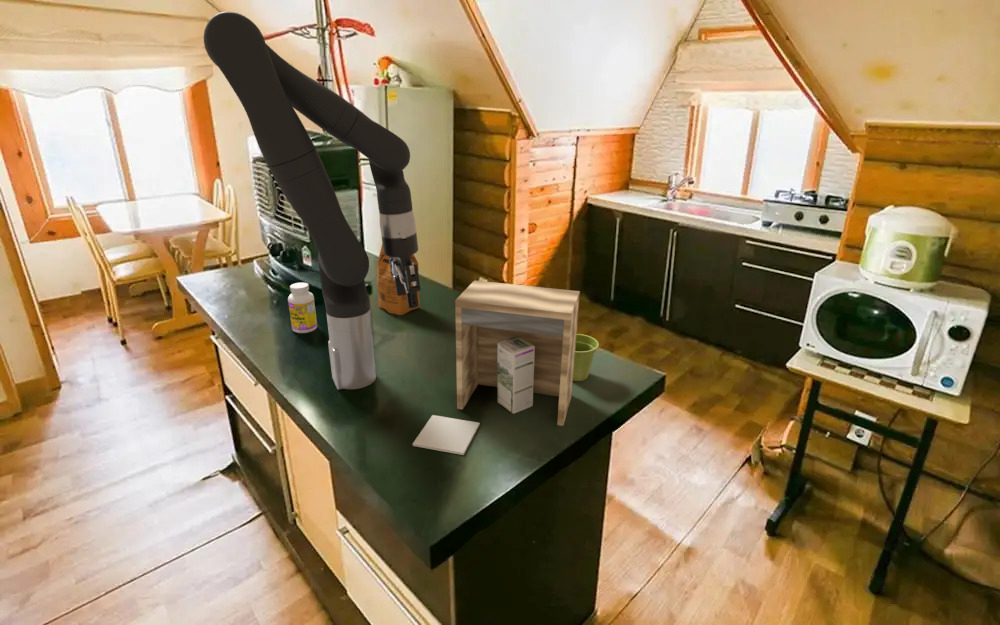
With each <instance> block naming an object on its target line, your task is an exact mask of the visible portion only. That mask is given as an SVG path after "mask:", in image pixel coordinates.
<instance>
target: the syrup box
mask: <svg viewBox="0 0 1000 625" xmlns="http://www.w3.org/2000/svg"><path fill="white" fill-rule="evenodd" d="M497 351H498V353H497V387H496V390H497V392H496V397H497V398H496V399H497V400H496V402H497V404H499V405H500V406H501V407H503V408H505V410H507V411H508V412H510V413H511V414H514V415H515V414H516V413H519V412H521V411H524V410H527V409H529V408H531V407H533V406H534V392H533V382H534V356H535V346H534V345H532V344H530V343H529V342H527V341H525V340H523V339H522V338H520V337H513V338H509V339H506V340H504V341H501V342H498V350H497Z"/></svg>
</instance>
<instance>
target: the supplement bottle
mask: <svg viewBox="0 0 1000 625" xmlns="http://www.w3.org/2000/svg"><path fill="white" fill-rule="evenodd" d="M289 290H290V292H291V293H290V294H289V296H288V298H287V303H288V304H287V305H288V310H289V317H290V323H291V324H290V325H291V330H292V331H293V332H294V333H297V334H309V333H311V332H313V331H315V330H316V329H317V328H318V320H317V313H316V312H317V311H316V306H315V296H314V294H313V293H312V292H310V291H309V290H310V285H309V283H308V282H295V283H292V284H291V285H289Z"/></svg>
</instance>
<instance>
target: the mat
mask: <svg viewBox="0 0 1000 625" xmlns="http://www.w3.org/2000/svg"><path fill="white" fill-rule="evenodd" d="M479 427H480V422H476V421H471V420H466V419H465V420H463V419H459V418H453V417H447V416H442V415H437V414H436V415H434V414H432V415H431V416H430V418H429V419H428V421H427V422H426V424H425V425H424V427H423V428H422V429H421V430H420V433H418V435H417V437H416V438H415V440H414V441H413V443H412V446H413V447H416V448H417V447H418V448H424V449H429V450H432V451H433V450H435V451H439V452H444V453H450V454H456V455H460V456H461V455H462V456H465V453H466V452H467V451H468V450H467V449H468V448H469V445H470V444H471V442H472V440H473V438H474V436H475V434H476V432H477V430H478V429H479Z"/></svg>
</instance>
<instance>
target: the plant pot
mask: <svg viewBox="0 0 1000 625" xmlns="http://www.w3.org/2000/svg"><path fill="white" fill-rule="evenodd" d="M599 345H600V343H599V341H598V340H597V339H596V338H594V337H592V336H590V335H586V334H582V333H577V334H576V347H575V360H574V373H573V382H583V381H586V380H587V379H588V377H589V376H590V375H589V374H590V371H591V367H592V363H593V360H594V356H595V353H596V351H597V350H598V349H599Z"/></svg>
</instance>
